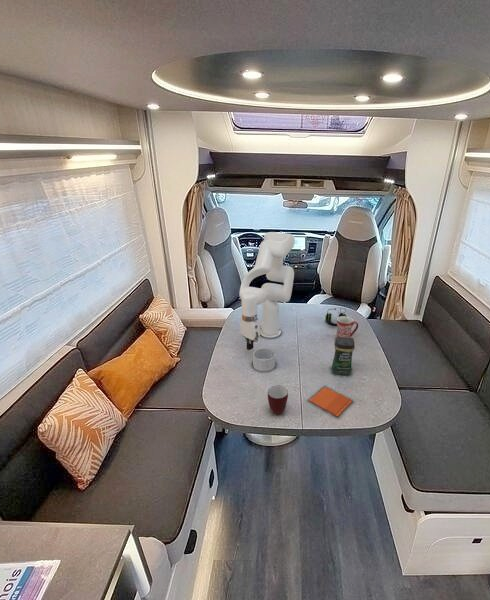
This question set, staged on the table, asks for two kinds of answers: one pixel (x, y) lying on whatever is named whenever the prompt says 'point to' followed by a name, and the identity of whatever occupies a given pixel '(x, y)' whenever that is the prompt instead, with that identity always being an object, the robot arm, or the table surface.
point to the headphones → (328, 318)
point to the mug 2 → (345, 326)
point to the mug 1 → (277, 398)
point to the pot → (264, 359)
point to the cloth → (331, 401)
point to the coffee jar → (343, 355)
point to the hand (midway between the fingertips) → (250, 348)
